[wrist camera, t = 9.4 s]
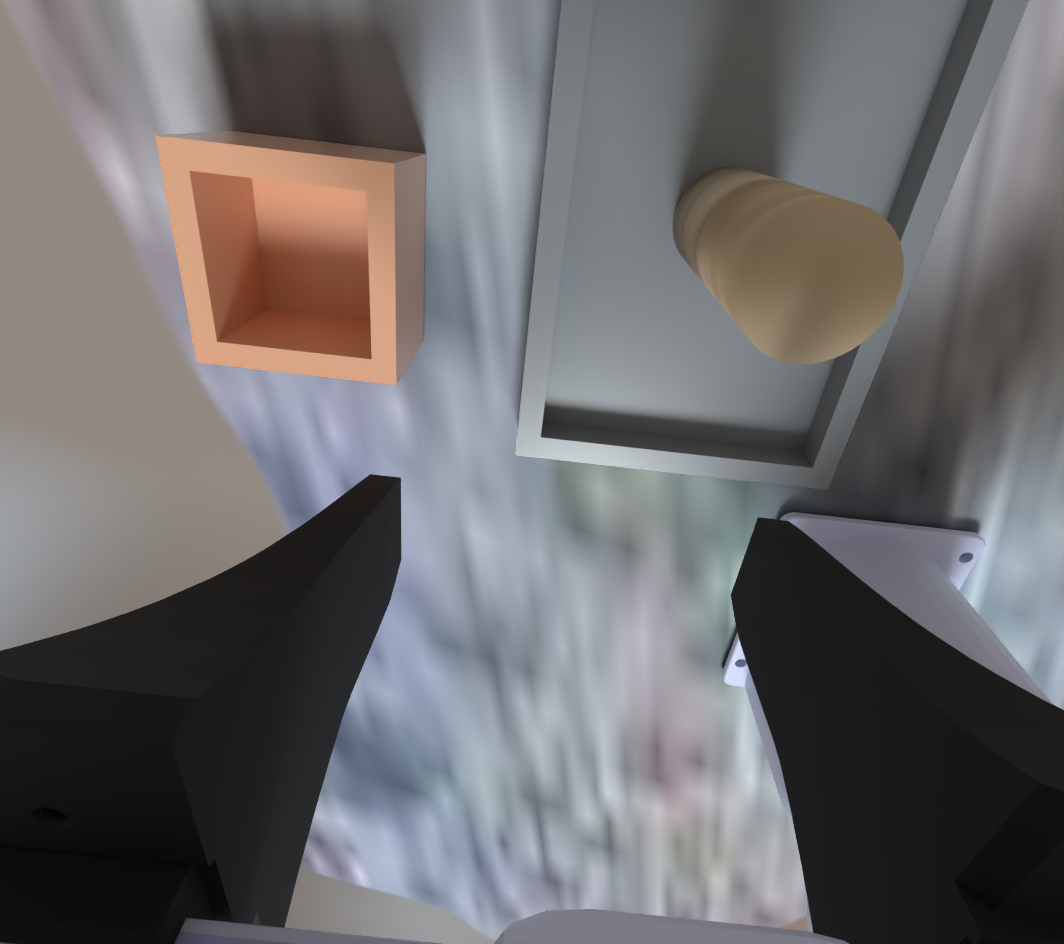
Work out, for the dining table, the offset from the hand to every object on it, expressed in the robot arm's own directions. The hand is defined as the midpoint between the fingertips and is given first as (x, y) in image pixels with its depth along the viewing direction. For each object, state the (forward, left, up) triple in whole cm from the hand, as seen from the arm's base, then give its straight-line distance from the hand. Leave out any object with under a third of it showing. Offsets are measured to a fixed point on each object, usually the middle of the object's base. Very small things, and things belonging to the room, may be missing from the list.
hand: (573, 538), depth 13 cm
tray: (+5, -4, -10) cm, 12 cm away
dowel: (+5, -4, -10) cm, 12 cm away
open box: (+3, +8, -10) cm, 13 cm away
